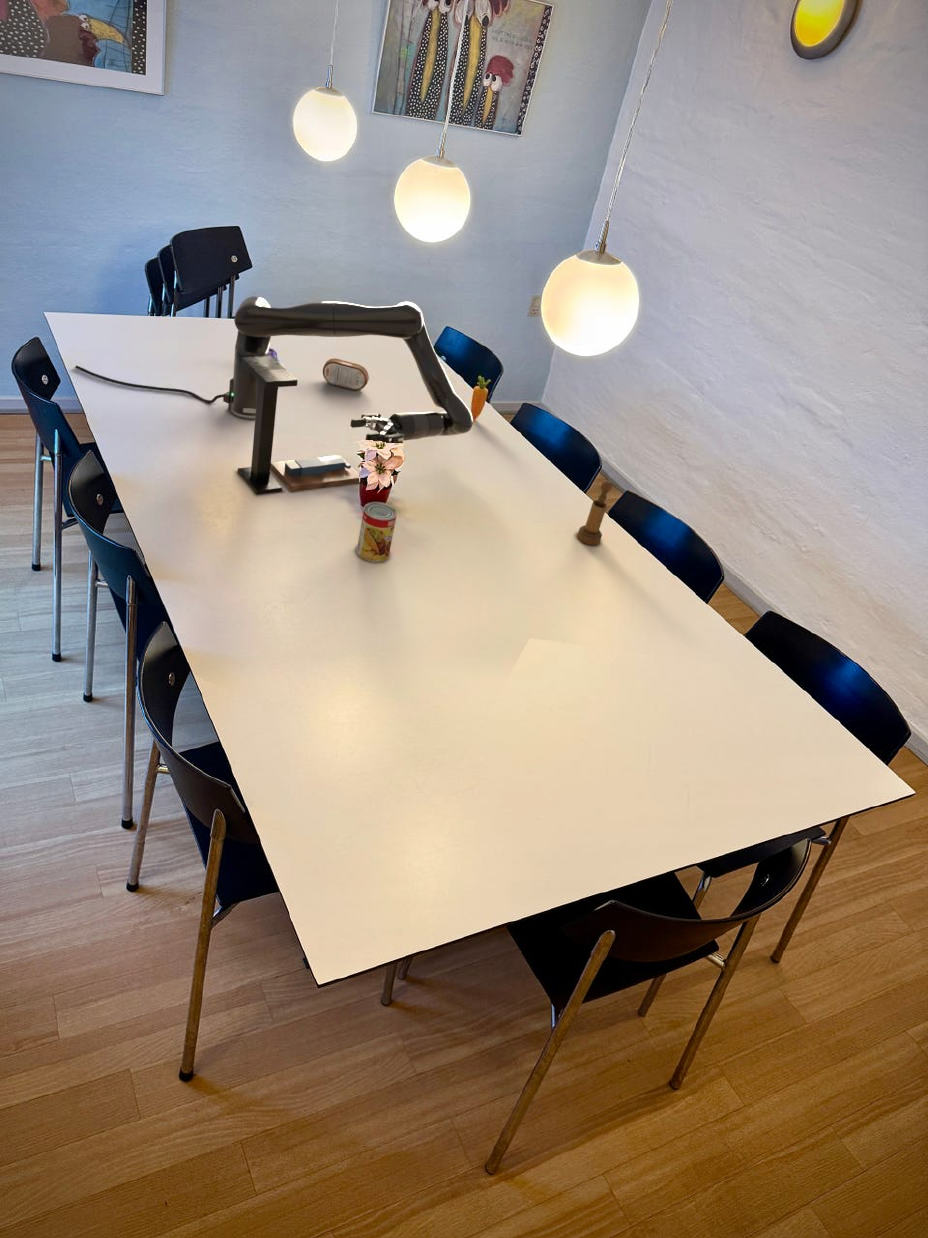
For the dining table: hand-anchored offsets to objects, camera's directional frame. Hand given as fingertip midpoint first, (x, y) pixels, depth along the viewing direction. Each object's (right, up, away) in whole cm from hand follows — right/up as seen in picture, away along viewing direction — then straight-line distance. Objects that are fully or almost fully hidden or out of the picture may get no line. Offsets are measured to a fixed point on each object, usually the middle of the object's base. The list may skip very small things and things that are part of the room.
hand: (358, 430), depth 239 cm
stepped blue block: (-11, -11, 0) cm, 15 cm away
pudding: (-37, +32, +52) cm, 72 cm away
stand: (-25, -15, -9) cm, 30 cm away
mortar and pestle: (+63, -29, +5) cm, 69 cm away
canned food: (+6, -35, -24) cm, 43 cm away
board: (-12, -12, +1) cm, 17 cm away
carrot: (+32, +15, +53) cm, 64 cm away
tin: (-11, +25, +52) cm, 59 cm away
